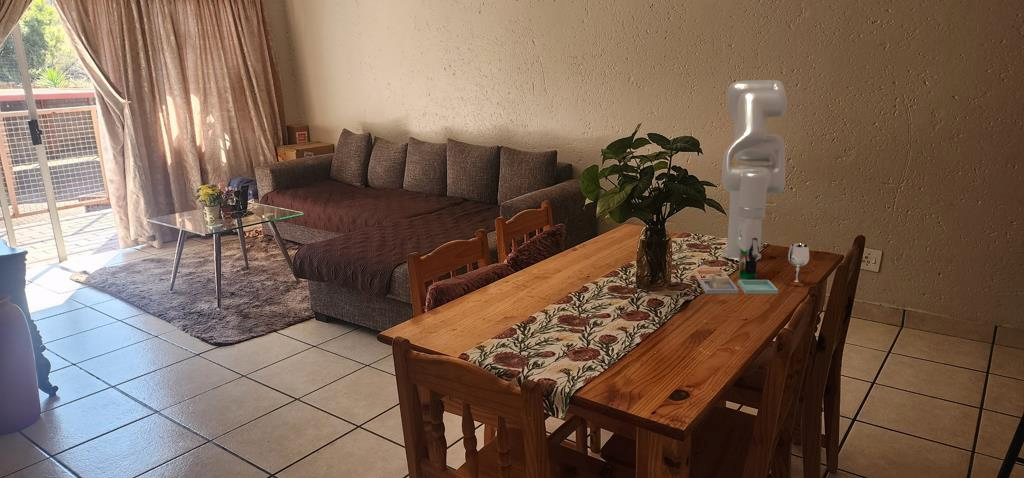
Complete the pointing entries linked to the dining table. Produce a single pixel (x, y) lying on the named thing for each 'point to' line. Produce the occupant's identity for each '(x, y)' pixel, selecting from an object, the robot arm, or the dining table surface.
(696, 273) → the tray terracotta
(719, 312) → the dining table surface
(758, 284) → the tray teal
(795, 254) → the wineglass
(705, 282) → the tray slate
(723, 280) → the letter cube
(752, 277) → the soda can
